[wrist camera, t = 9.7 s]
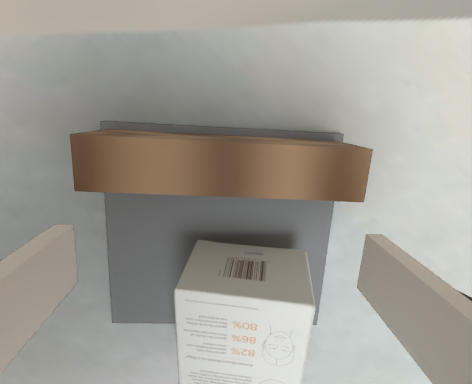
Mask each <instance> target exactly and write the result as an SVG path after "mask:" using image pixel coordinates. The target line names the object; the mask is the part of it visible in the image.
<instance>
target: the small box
mask: <svg viewBox="0 0 472 384" xmlns="http://www.w3.org/2000/svg"><path fill="white" fill-rule="evenodd" d="M174 304H175V320H176V338H177V356H178V378H179V384H302V379H303V374H304V369H305V363H306V358H307V352H308V347H309V342H310V336H311V331H312V325H313V319H314V315H315V301H314V294H313V288H312V282H311V275H310V269H309V263H308V258H307V253H306V251H305V250H301V249H284V248H272V247H260V246H250V245H239V244H230V243H219V242H212V241H205V240H197V242H196V244H195V246H194V248H193V251H192V253H191V255H190V257H189V259H188V262H187V264H186V266H185V268H184V271H183V273H182V275H181V277H180V279H179V282H178V284H177V286H176V288H175V290H174Z"/></svg>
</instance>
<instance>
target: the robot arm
mask: <svg viewBox="0 0 472 384" xmlns="http://www.w3.org/2000/svg"><path fill="white" fill-rule="evenodd" d="M77 283H78V273H77V262H76V251H75V239H74V228H73V225H58V224H55V225H53V226H52V227H50V228H49V229H47V230H46V231H44V232H43V233H41V234H40V235H38V236H37V237H35V238H34V239H32V240H31V241H29V242H28V243H26V244H25V245H23V246H22V247H20V248H19V249H17V250H16V251H14V252H13V253H11V254H10V255H8V256H7V257H5V258H4V259H2V260H1V261H0V374H1V373H2V371H3V370H4V369H5V368H6V367H7V365H8V364H9V363H10V362H11V361H12V360H13V358H14V357H15V356H16V355H17V354H18V352H19V351H20V350H21V349H22V348H23V347H24V345H25V344H26V343H27V342H28V341H29V339H30V338H31V337H32V336H33V335H34V334H35V332H36V331H37V330H38V329H39V328H40V326H41V325H42V324H43V323H44V322H45V321H46V319H47V318H48V317H49V316H50V315H51V313H52V312H53V311H54V310H55V309H56V308H57V306H58V305H59V304H60V303H61V302H62V300H63V299H64V298H65V297H66V296H67V295H68V293H69V292H70V291H71V290H72V289H73V287H74V286H75V285H76V284H77ZM357 288H358V289H359V291H360V292H361V293H362V294H363V296H364V297H365V298H366V300H367V301H368V302H369V303H370V305H371V306H372V307H373V308H374V310H375V311H376V312H377V314H378V315H379V316H380V317H381V319H382V320H383V321H384V322H385V324H386V325H387V326H388V328H389V329H390V330H391V331H392V333H393V334H394V335H395V336H396V338H397V339H398V340H399V341H400V343H401V344H402V345H403V347H404V348H405V349H406V350H407V352H408V353H409V354H410V355H411V357H412V358H413V359H414V361H415V362H416V363H417V364H418V366H419V367H420V368H421V369H422V371H423V372H424V373H425V375H426V376H427V377H428V378H429V380H430V381H431V382H432V383H433V384H472V298H471V297H469V296H467V295H465V294H463V293H461V292H459V291H457V290H456V289H454V288H453V287H452V286H450V285H449V284H448V283H446V282H445V281H444V280H442V279H441V278H440V277H438V276H437V275H436V274H434V273H433V272H432V271H430V270H429V269H428V268H426V267H425V266H424V265H422V264H421V263H420V262H418V261H417V260H416V259H414V258H413V257H412V256H410V255H409V254H408V253H406V252H405V251H404V250H402V249H401V248H400V247H398V246H397V245H396V244H394V243H393V242H391V241H390V240H389V239H387V238H386V237H385V236H383V235H379V234H366V238H365V243H364V249H363V255H362V261H361V266H360V272H359V278H358V284H357Z"/></svg>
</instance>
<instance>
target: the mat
mask: <svg viewBox="0 0 472 384" xmlns="http://www.w3.org/2000/svg"><path fill="white" fill-rule="evenodd" d="M100 125H101V130H106V129H114V130H134V131H153V132H173V133H193V134H212V135H232V136H252V137H271V138H291V139H311V140H331V141H339V142H343V135H344V134H340V133H321V132H302V131H282V130H263V129H244V128H225V127H206V126H187V125H168V124H149V123H130V122H111V121H100ZM104 193H105V210H106V227H107V244H108V261H109V278H110V295H111V312H112V323H176V320H175V304H174V290H175V288H176V286H177V284H178V282H179V279H180V277H181V275H182V273H183V271H184V268H185V266H186V264H187V262H188V259H189V257H190V255H191V253H192V251H193V248H194V246H195V244H196V242H197V240H205V241H212V242H219V243H230V244H239V245H250V246H260V247H272V248H284V249H301V250H305V251H306V253H307V258H308V263H309V269H310V275H311V282H312V288H313V294H314V301H315V315H314V319H313V325H317V319H318V311H319V304H320V297H321V290H322V283H323V276H324V269H325V262H326V255H327V248H328V241H329V234H330V227H331V219H332V212H333V205H334V201H321V200H294V199H268V198H242V197H215V196H189V195H163V194H136V193H110V192H104Z"/></svg>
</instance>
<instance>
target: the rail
mask: <svg viewBox="0 0 472 384" xmlns="http://www.w3.org/2000/svg"><path fill="white" fill-rule="evenodd" d="M70 141H71V152H72V164H73V176H74V188H75V191H84V192H110V193H136V194H163V195H189V196H215V197H242V198H268V199H294V200H321V201H347V202H364V198H365V193H366V187H367V181H368V175H369V169H370V163H371V157H372V151H373V149H369V148H365V147H360V146H356V145H352V144H347V143H343V142H339V141H331V140H311V139H291V138H271V137H252V136H232V135H212V134H193V133H173V132H153V131H134V130H114V129H106V130H99V131H92V132H84V133H77V134H70Z"/></svg>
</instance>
